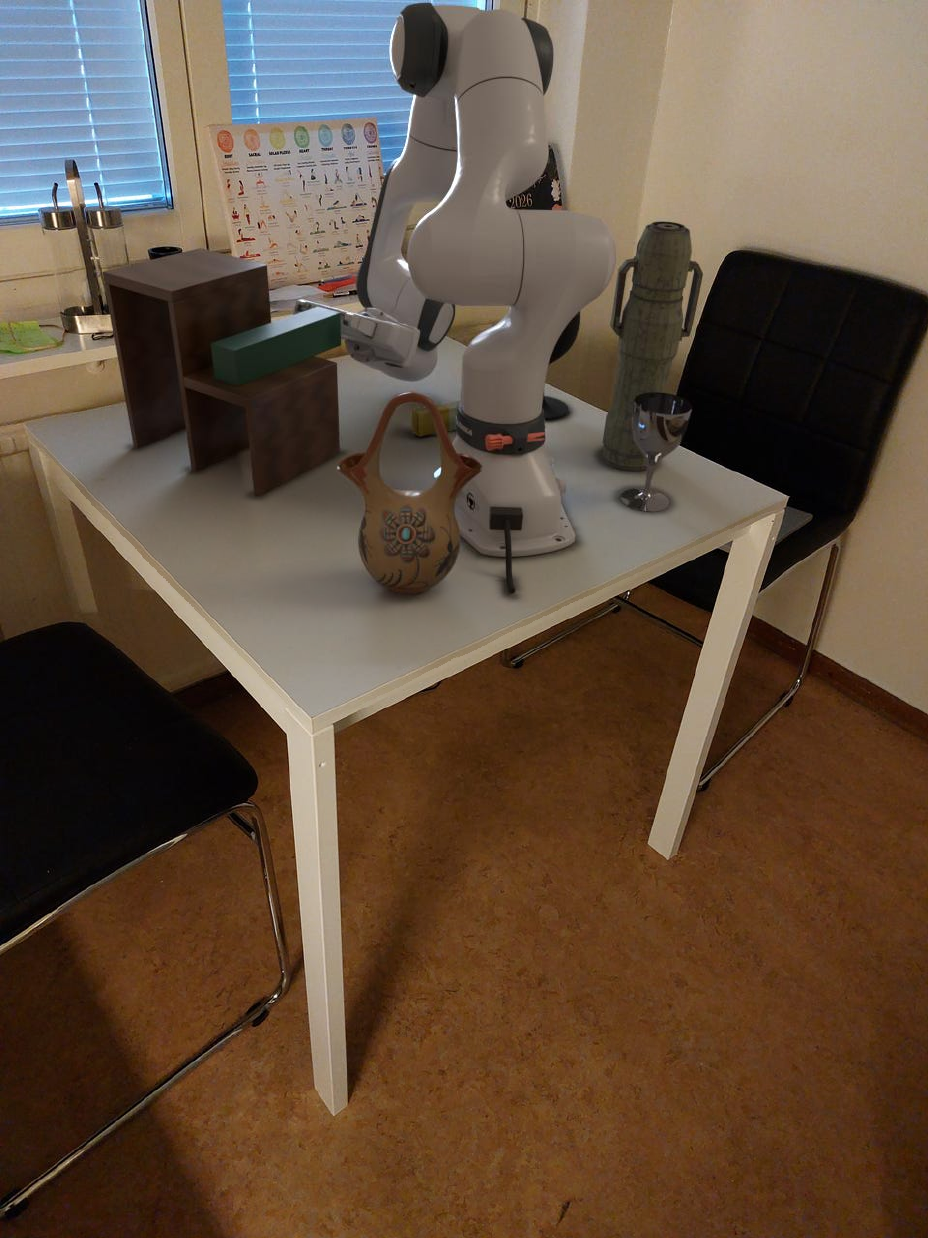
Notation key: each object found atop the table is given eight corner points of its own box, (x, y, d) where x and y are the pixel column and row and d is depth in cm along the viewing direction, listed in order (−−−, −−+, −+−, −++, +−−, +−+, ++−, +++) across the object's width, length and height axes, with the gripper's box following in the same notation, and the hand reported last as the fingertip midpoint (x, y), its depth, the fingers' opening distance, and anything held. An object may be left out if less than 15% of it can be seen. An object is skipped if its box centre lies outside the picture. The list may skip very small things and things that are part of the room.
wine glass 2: (608, 489, 134) (624, 394, 125) (656, 484, 136) (674, 390, 127) (632, 515, 128) (650, 416, 119) (681, 509, 130) (703, 412, 121)
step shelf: (219, 410, 150) (200, 247, 135) (340, 453, 139) (334, 281, 124) (133, 446, 137) (101, 271, 122) (259, 496, 127) (241, 311, 111)
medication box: (472, 421, 152) (472, 397, 150) (481, 425, 150) (481, 401, 148) (410, 432, 146) (410, 408, 144) (419, 437, 144) (418, 412, 142)
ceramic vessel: (471, 565, 115) (483, 377, 100) (478, 606, 107) (492, 409, 93) (342, 566, 113) (335, 375, 98) (340, 608, 106) (333, 407, 91)
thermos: (584, 447, 145) (616, 217, 125) (653, 446, 147) (696, 218, 127) (599, 472, 138) (636, 232, 118) (672, 470, 140) (720, 233, 120)
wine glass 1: (540, 425, 152) (553, 306, 140) (497, 405, 158) (506, 289, 146) (581, 411, 158) (596, 295, 146) (538, 392, 164) (550, 280, 152)
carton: (319, 339, 138) (317, 306, 136) (341, 345, 137) (340, 312, 134) (214, 379, 123) (210, 343, 120) (237, 386, 121) (234, 350, 118)
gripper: (328, 305, 150) (276, 277, 137) (429, 332, 141) (383, 305, 129) (317, 342, 151) (265, 318, 138) (416, 371, 142) (370, 348, 130)
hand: (323, 312), depth 134 cm, fingers open, 8 cm apart
